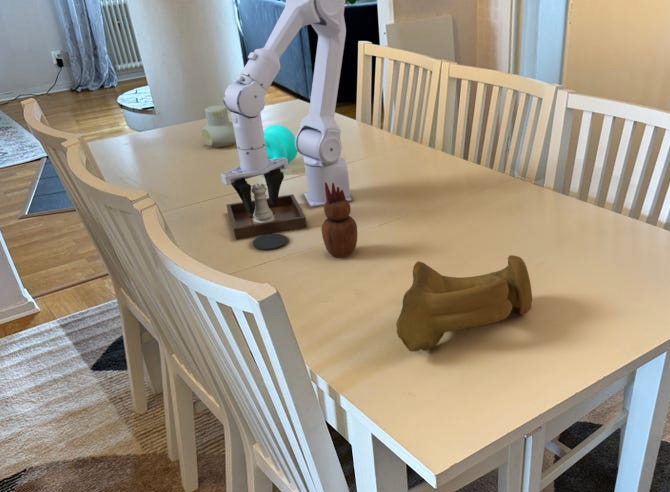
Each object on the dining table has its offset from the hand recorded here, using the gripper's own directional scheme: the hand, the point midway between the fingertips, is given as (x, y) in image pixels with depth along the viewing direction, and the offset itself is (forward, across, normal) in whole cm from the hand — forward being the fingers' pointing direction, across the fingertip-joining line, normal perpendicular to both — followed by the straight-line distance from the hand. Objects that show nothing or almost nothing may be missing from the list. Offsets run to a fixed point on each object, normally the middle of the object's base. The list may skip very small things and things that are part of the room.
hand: (262, 208), depth 147 cm
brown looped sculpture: (+3, -3, +61) cm, 61 cm away
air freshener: (+3, -17, -56) cm, 58 cm away
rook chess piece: (+3, 0, 0) cm, 3 cm away
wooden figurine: (+3, -4, +25) cm, 25 cm away
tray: (+3, 0, 0) cm, 3 cm away
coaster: (+3, +4, +11) cm, 12 cm away
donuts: (+3, -18, -27) cm, 33 cm away
